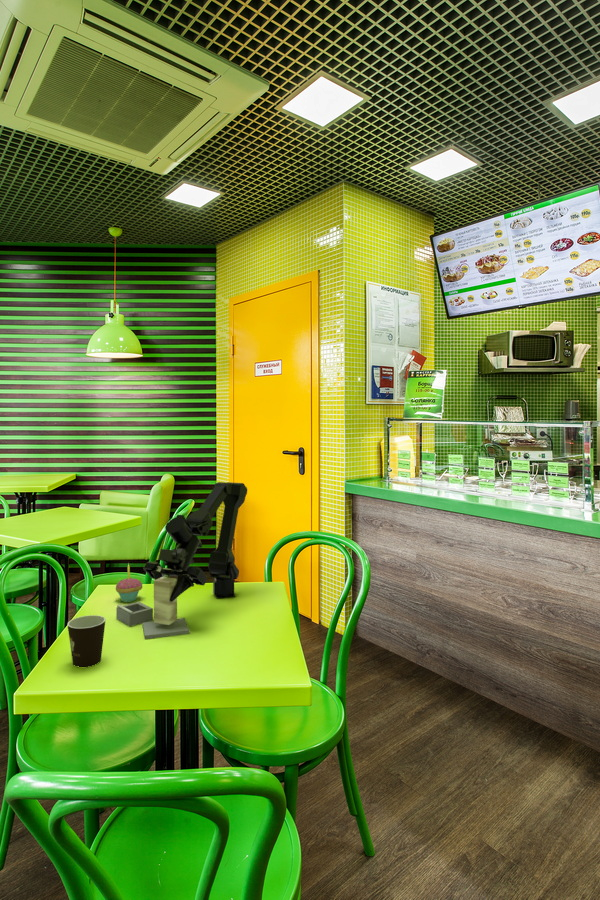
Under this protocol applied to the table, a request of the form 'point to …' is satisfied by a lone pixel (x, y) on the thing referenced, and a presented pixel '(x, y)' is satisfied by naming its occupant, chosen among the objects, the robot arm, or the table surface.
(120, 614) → the dispenser sleeve
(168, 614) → the cream square pillar
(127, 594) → the cupcake
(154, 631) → the rubber mat
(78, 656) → the coffee mug
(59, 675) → the table surface
